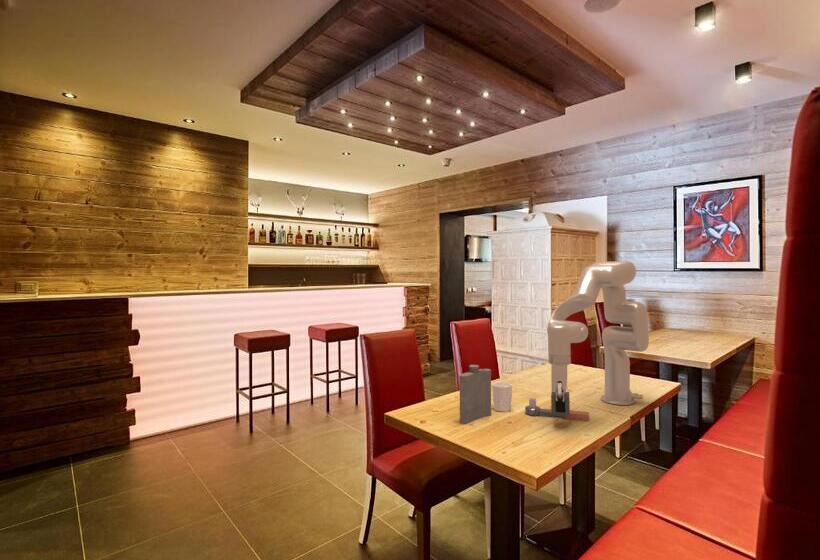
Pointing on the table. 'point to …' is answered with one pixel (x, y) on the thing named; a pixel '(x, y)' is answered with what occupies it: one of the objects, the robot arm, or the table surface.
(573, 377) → the table surface
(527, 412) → the ratchet
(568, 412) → the two-tone cube
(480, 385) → the hip flask
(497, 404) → the peach tapered cup
